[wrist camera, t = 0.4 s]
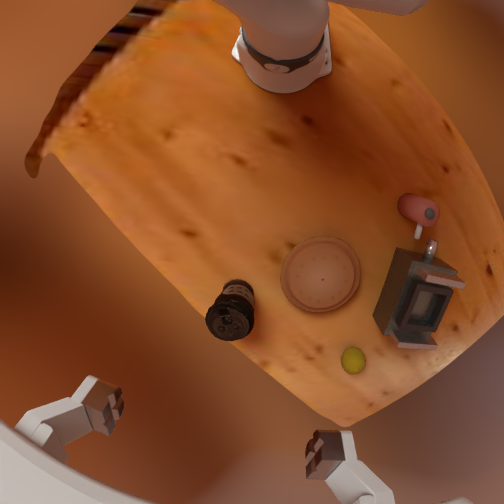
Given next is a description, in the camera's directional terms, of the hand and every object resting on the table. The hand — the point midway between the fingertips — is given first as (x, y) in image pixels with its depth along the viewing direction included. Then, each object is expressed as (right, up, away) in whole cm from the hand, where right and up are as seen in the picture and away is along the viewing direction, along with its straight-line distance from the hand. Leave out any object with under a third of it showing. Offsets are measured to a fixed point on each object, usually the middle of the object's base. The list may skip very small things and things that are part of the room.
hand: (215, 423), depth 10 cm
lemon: (+24, -16, +52) cm, 59 cm away
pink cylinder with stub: (+32, +15, +41) cm, 54 cm away
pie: (+15, +3, +46) cm, 49 cm away
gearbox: (+36, +1, +45) cm, 57 cm away
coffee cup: (-1, -1, +49) cm, 49 cm away
